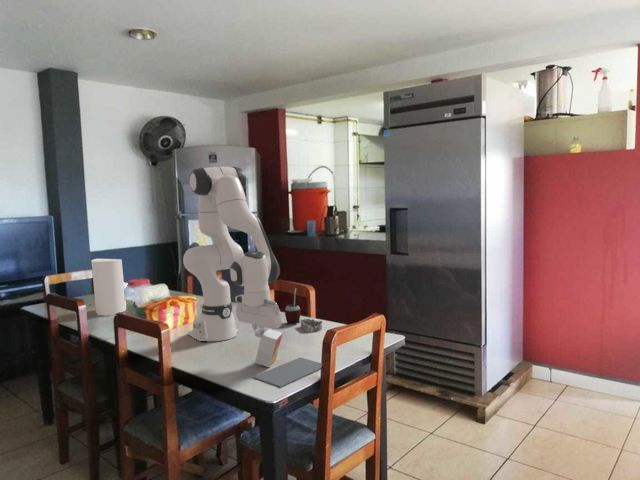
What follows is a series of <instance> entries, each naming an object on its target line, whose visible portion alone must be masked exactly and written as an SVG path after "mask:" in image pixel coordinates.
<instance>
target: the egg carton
mask: <svg viewBox="0 0 640 480" xmlns="http://www.w3.org/2000/svg"><path fill="white" fill-rule="evenodd" d="M299 321H300V328H301V329H303V330H304V331H306V332H307V333H309V332H310V333H314V331H315V332H316V331H318V332H319V331H322V330H323V321H322V320H315V319H313V318H312V319H310V318H304V319H302V318H300V319H299Z"/></svg>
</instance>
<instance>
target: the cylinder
mask: <svg viewBox="0 0 640 480" xmlns="http://www.w3.org/2000/svg"><path fill="white" fill-rule="evenodd" d="M90 261H91V272H92V281H93V293H94V301H95V313H99V314H114V313H115V314H116V313H118V312H123V311H125V310H126V301H125V300H124V289H125V288H126V287H127V285H128V283H129V282H125V281H124V271H123V270H124V268H123V261H122V259H121V258H120V259H117V258H94V259H91V260H90Z"/></svg>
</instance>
